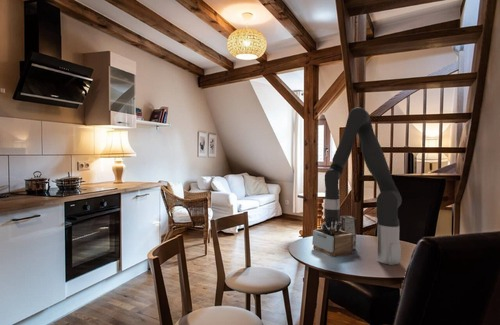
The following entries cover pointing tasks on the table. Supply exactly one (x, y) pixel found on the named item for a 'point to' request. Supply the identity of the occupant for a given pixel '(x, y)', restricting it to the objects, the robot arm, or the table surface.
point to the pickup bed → (339, 244)
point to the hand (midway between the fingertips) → (331, 241)
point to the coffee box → (349, 226)
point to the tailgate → (323, 241)
